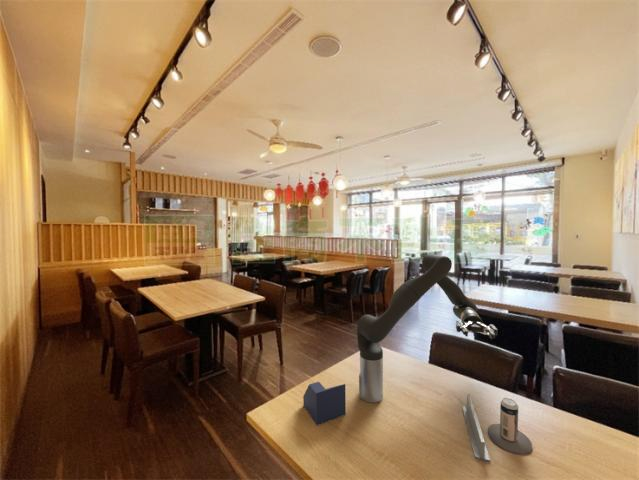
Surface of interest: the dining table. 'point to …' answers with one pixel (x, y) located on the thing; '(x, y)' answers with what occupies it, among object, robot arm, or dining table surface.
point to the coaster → (516, 447)
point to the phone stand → (325, 402)
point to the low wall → (475, 432)
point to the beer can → (509, 419)
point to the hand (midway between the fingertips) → (479, 335)
